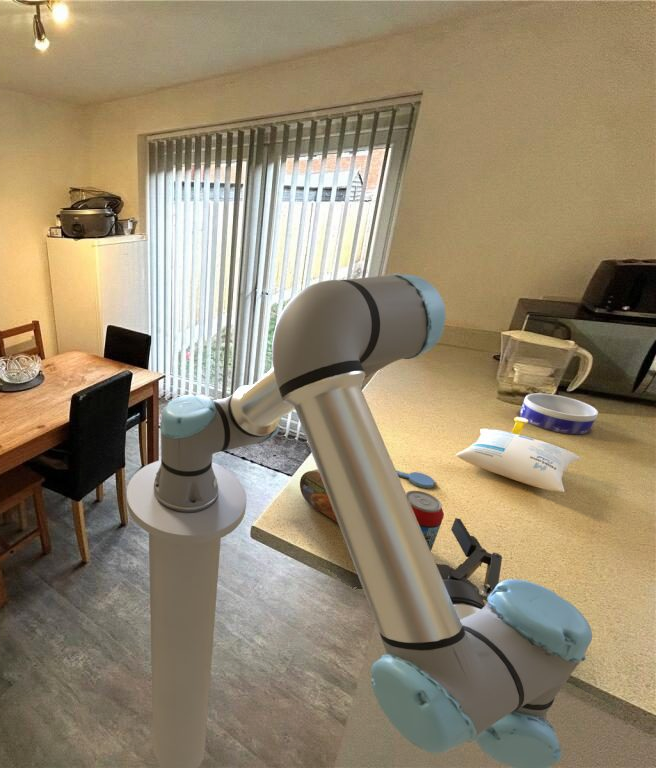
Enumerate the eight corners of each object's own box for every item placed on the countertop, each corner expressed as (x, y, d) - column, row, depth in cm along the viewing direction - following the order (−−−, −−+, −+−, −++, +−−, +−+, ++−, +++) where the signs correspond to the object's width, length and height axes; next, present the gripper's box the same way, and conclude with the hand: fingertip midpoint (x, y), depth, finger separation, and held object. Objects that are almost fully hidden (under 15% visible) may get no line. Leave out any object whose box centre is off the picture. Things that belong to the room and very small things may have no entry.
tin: (296, 495, 89) (302, 464, 86) (305, 491, 90) (311, 460, 87) (359, 538, 77) (369, 503, 74) (368, 532, 78) (378, 498, 75)
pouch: (486, 415, 106) (462, 437, 94) (586, 447, 92) (572, 477, 80) (475, 440, 109) (451, 465, 97) (571, 474, 95) (555, 507, 84)
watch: (510, 432, 112) (517, 413, 110) (523, 435, 110) (531, 417, 108) (505, 439, 109) (512, 420, 107) (518, 443, 107) (526, 424, 105)
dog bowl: (599, 439, 108) (609, 420, 105) (526, 427, 115) (534, 408, 112) (577, 416, 120) (585, 398, 117) (512, 406, 127) (519, 389, 124)
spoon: (343, 463, 100) (343, 460, 100) (347, 454, 104) (347, 451, 103) (432, 491, 90) (433, 487, 89) (433, 480, 93) (435, 476, 93)
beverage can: (411, 570, 70) (429, 517, 65) (378, 543, 76) (392, 493, 71) (436, 558, 72) (455, 506, 68) (402, 533, 78) (417, 484, 73)
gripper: (355, 615, 59) (336, 519, 78) (560, 664, 52) (486, 546, 71) (366, 580, 56) (343, 489, 75) (584, 627, 49) (500, 514, 68)
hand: (412, 516), depth 73 cm, fingers open, 13 cm apart
